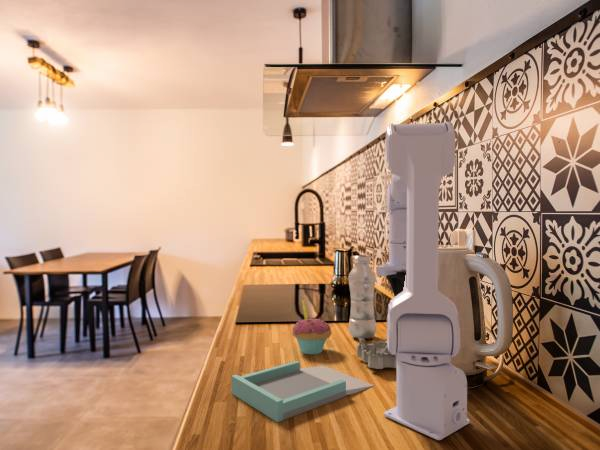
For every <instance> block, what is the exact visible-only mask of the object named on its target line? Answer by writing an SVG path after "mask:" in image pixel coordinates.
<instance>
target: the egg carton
mask: <svg viewBox="0 0 600 450" xmlns="http://www.w3.org/2000/svg"><path fill="white" fill-rule="evenodd" d="M356 339H358V342H359V343H358V344H357V345H356V357H358V358H361V361H362V362H364V363H367V367H368V368H370V369H371V368H372V369H376V370H377V369H378V370H379V369H380V370H383V369H384V368H392V369H394V368H395V369H396V362H397V358H396V355H392V354H391V352H389V351H388V346H387V340H385V341H384V340H378V341H377V342H376V341H375V340H372V341H371V342H370V343H369V344H368V343H367V342H366V339H362V338H359V336H358V335H357V336H356Z"/></svg>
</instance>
